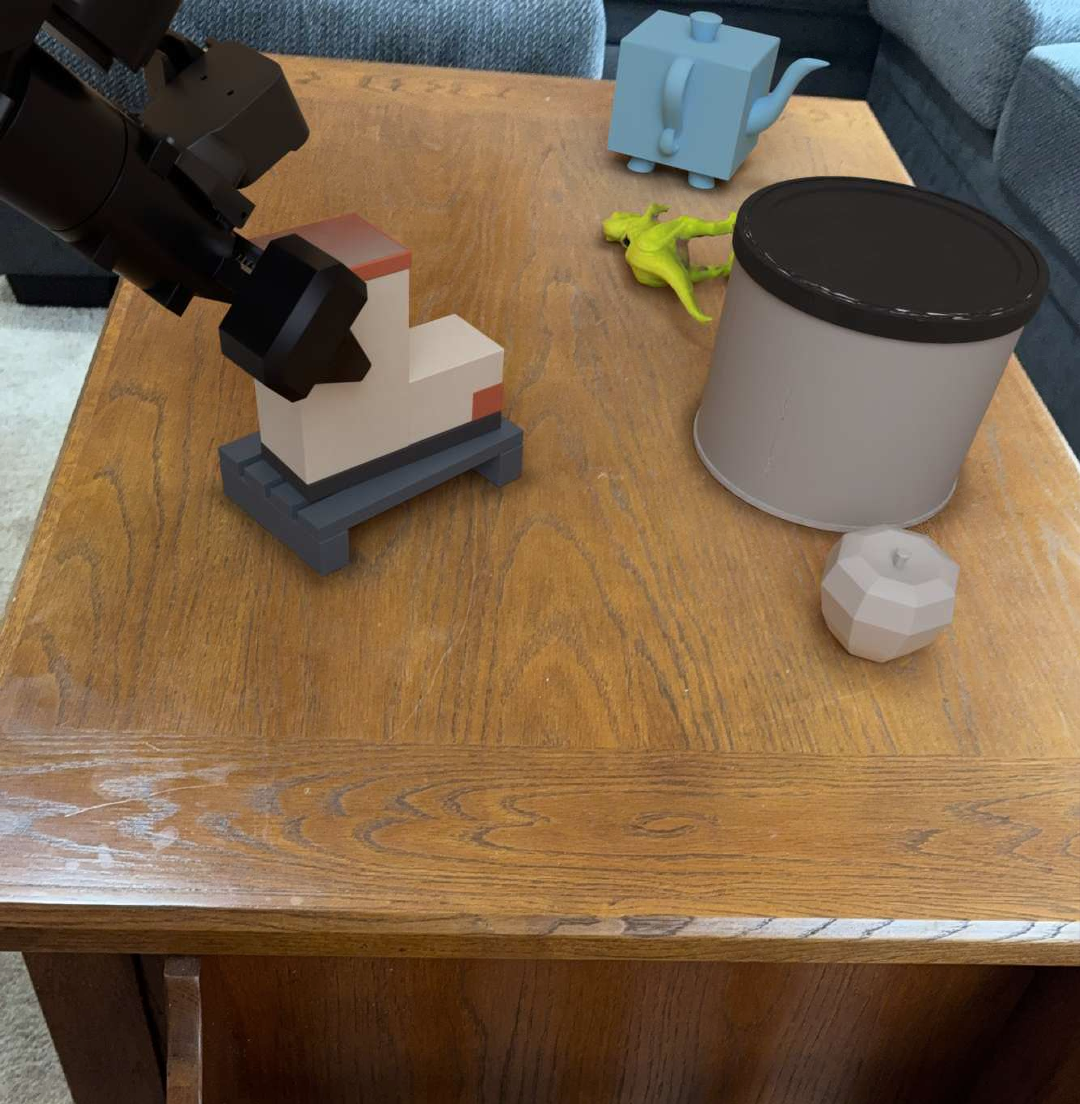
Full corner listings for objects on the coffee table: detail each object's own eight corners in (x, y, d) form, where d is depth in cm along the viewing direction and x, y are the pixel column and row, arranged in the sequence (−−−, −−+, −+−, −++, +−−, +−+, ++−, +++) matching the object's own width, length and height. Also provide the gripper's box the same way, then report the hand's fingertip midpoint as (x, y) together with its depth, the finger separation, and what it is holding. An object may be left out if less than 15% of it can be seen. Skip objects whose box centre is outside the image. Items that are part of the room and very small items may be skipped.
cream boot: (308, 504, 63) (290, 285, 53) (260, 459, 65) (235, 241, 56) (502, 428, 70) (517, 221, 60) (452, 389, 72) (459, 185, 63)
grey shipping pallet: (323, 577, 64) (319, 529, 62) (223, 494, 68) (216, 446, 66) (520, 476, 72) (525, 431, 70) (421, 408, 77) (421, 362, 74)
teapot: (595, 176, 105) (614, 22, 96) (647, 124, 115) (669, -20, 106) (776, 224, 102) (815, 69, 92) (814, 166, 112) (852, 22, 102)
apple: (787, 591, 67) (817, 503, 62) (912, 595, 68) (951, 509, 63) (816, 686, 62) (851, 599, 57) (951, 690, 63) (997, 603, 58)
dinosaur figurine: (800, 325, 89) (821, 250, 85) (698, 349, 85) (714, 272, 81) (664, 220, 100) (676, 148, 96) (568, 236, 96) (576, 163, 92)
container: (667, 495, 72) (714, 275, 61) (713, 356, 85) (759, 152, 74) (955, 564, 70) (1058, 348, 59) (959, 411, 83) (1045, 209, 72)
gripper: (320, 60, 40) (515, 273, 54) (58, -74, 48) (286, 141, 62) (163, 324, 42) (391, 465, 56) (-65, 152, 50) (184, 313, 64)
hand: (311, 335), depth 59 cm, fingers open, 9 cm apart
